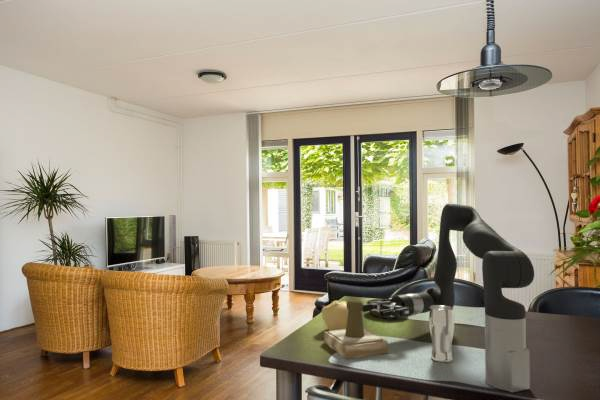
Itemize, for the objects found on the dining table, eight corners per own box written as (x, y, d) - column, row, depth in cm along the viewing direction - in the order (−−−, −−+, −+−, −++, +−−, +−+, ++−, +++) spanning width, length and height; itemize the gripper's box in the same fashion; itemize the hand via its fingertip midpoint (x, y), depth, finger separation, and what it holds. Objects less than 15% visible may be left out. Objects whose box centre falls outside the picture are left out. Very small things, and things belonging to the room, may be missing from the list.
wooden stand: (387, 353, 128) (387, 339, 128) (346, 359, 123) (346, 345, 123) (361, 338, 143) (361, 326, 143) (324, 342, 138) (323, 330, 138)
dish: (402, 308, 186) (402, 297, 186) (415, 322, 164) (415, 309, 164) (363, 308, 186) (363, 297, 186) (370, 321, 164) (370, 308, 164)
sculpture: (338, 324, 160) (338, 296, 160) (363, 331, 151) (363, 301, 151) (317, 330, 152) (317, 300, 152) (342, 338, 143) (341, 306, 143)
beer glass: (434, 353, 128) (434, 303, 128) (457, 358, 124) (457, 307, 124) (425, 359, 123) (425, 307, 123) (449, 365, 118) (449, 311, 119)
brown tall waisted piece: (363, 338, 130) (363, 302, 130) (344, 337, 131) (344, 301, 131) (365, 332, 136) (364, 298, 136) (346, 331, 137) (346, 297, 137)
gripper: (392, 290, 151) (356, 295, 143) (422, 298, 139) (386, 304, 131) (392, 311, 151) (357, 318, 143) (422, 320, 139) (386, 328, 131)
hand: (371, 311), depth 137 cm, fingers open, 8 cm apart
